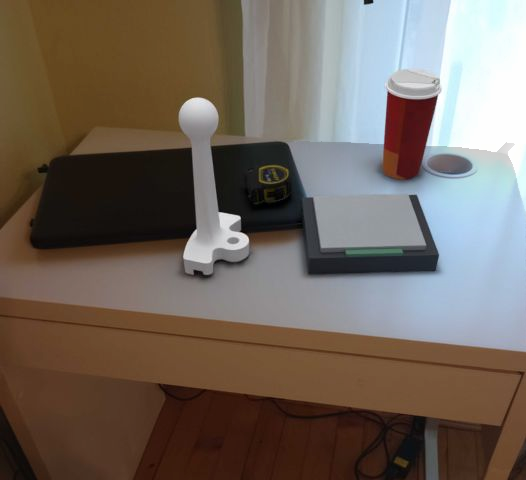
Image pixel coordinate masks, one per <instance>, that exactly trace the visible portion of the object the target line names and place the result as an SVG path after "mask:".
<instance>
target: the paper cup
mask: <svg viewBox="0 0 526 480" xmlns="http://www.w3.org/2000/svg"><path fill="white" fill-rule="evenodd" d="M384 88H385V90H386V108H385V121H384V123H385V124H384V134H383V135H384V136H383V151H382V152H383V154H382V171H383V173H384V175H385V176H387V177H389V178H391V179H395V180H411V179H413V178H416V177H418V175H419V173H420V170H421V168H422V164H423V159H424V157H425V156H424V155H425V151H426V148H427V143H428V138H429V135H430V131H431V126H432V123H433V119H434V115H435V111H436V106H437V102H438V97H439V95H440V94H441V92H442V90H443V89H442V88H443V87H442V85H441V80H440V77H439V75H438V74H436V73H434V72H432V71H429V70H425V69H421V68H402V69H399V70H396V71H394V72H393V73H392V74H391V75H390V76H389V77H388V78H387V81H386V82H385V83H384Z"/></svg>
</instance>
